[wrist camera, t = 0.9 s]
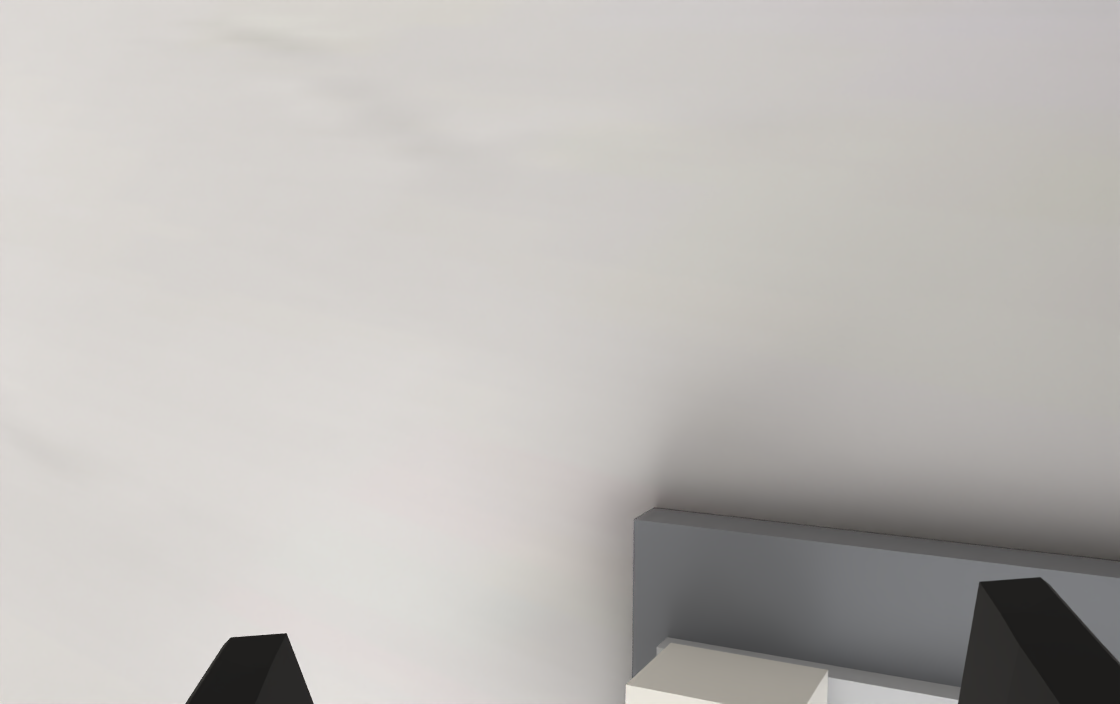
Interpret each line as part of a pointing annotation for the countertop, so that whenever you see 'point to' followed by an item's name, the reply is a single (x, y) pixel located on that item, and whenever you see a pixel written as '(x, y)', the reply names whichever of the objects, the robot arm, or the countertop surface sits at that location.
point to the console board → (839, 599)
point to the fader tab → (724, 679)
